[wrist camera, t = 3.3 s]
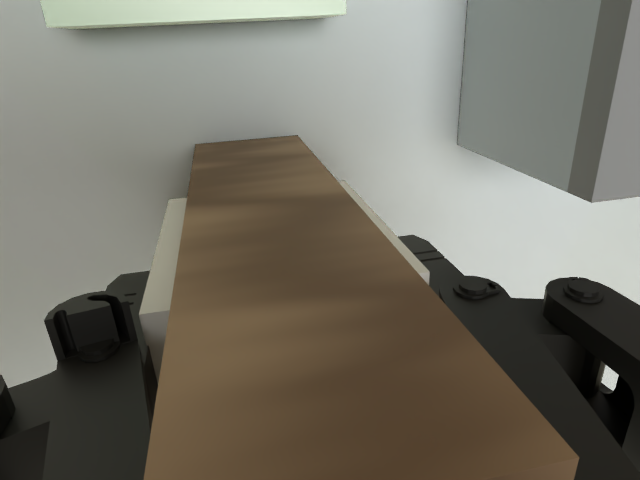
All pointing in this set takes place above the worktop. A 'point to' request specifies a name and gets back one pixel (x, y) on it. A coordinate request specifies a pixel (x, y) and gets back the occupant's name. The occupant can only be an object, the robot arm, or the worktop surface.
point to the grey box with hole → (556, 92)
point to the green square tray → (180, 12)
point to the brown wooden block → (322, 344)
